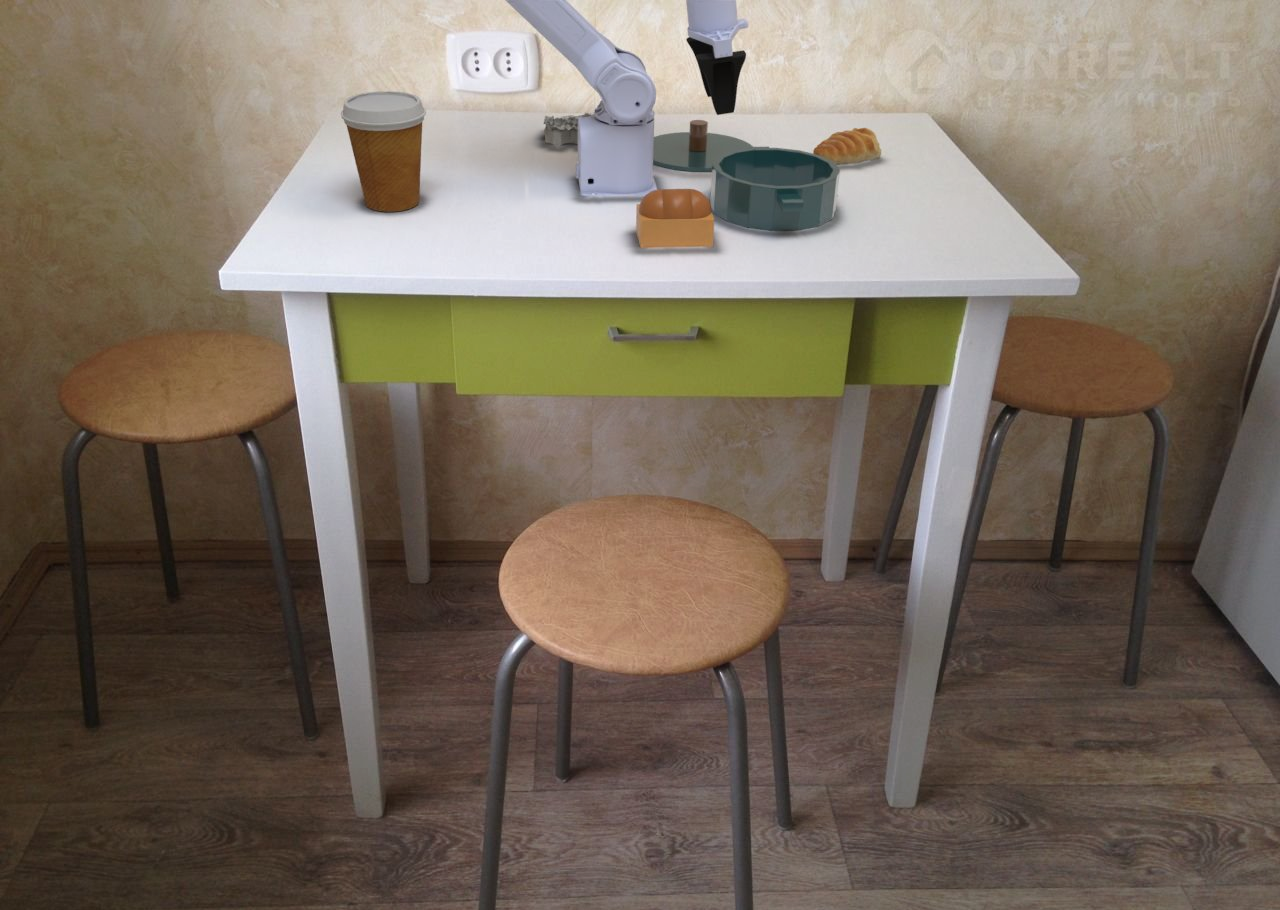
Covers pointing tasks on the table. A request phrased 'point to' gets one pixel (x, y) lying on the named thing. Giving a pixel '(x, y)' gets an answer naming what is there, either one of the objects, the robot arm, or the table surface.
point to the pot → (774, 188)
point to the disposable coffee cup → (386, 147)
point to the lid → (693, 148)
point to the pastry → (850, 147)
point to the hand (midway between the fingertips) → (720, 103)
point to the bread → (674, 219)
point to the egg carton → (562, 129)
